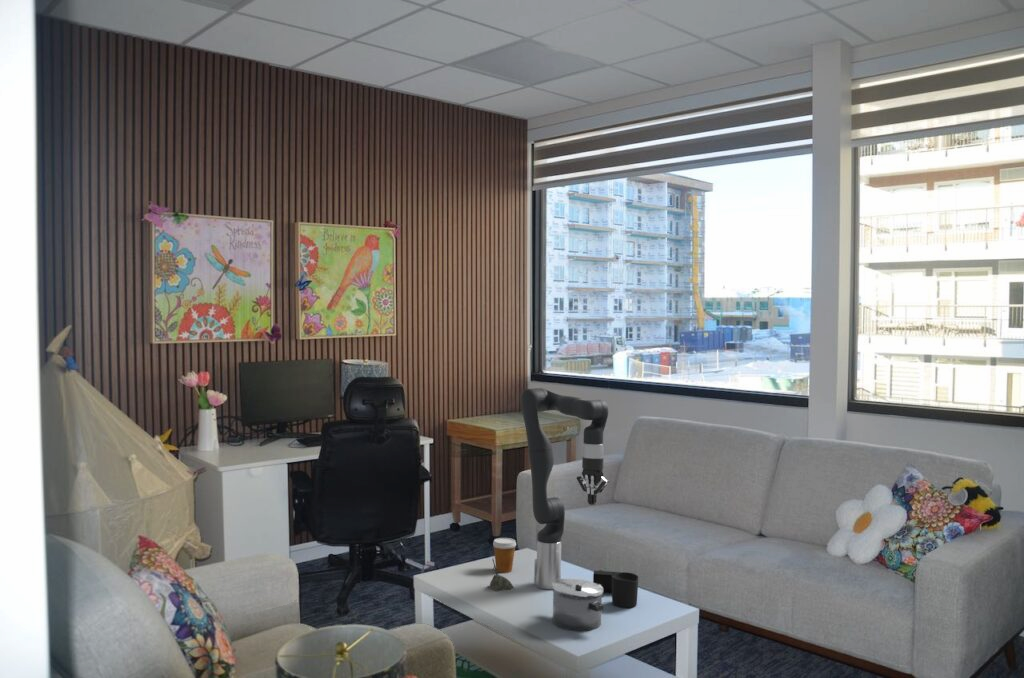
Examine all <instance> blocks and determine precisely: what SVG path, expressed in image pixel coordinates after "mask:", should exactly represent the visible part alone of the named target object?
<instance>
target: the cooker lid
mask: <svg viewBox="0 0 1024 678" xmlns="http://www.w3.org/2000/svg"><path fill="white" fill-rule="evenodd" d="M552 588H553V589H554V590H556V591H558V592H560V593H563V594H567V595H571V596H578V597H596V596H600V595H602V594H603V586H602V585H600V584H597V583H595V582H593V581H589V580H586V579H585V580H584V579H578V578H561V579H558V580H555V581H553V582H552ZM553 589H552V590H553Z"/></svg>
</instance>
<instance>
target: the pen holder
mask: <svg viewBox="0 0 1024 678" xmlns="http://www.w3.org/2000/svg"><path fill="white" fill-rule="evenodd" d="M620 572H621V571H620ZM638 591H639V576H638V574H635V573H633V572H629V571H625V572H624V571H622V572H621V573H618V574H617V575H615V576H613V575H612V593H611V599H612V600H611V603H612V604H613V605H614V606H615V607H618V608H621V609H622V608H623V609H631V608H634V607H636V606H637V605H638V594H639V593H638Z"/></svg>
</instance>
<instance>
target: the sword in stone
mask: <svg viewBox="0 0 1024 678" xmlns="http://www.w3.org/2000/svg"><path fill="white" fill-rule="evenodd" d="M492 563H493V567H492V568H493V569H492V570H493V572H494V573H495V574H494V575H493V577H492V579H491V581H490V584H489V585H487V586H486V588H487V589H488V590H490V591H492V592H499V591H509V590H510V591H511V590H513V589H515V587H514V585H513V584H512V582H511V581H510V580H509V579H507V578H506V577H505V576H503V575H500V574H498V569H497V570H496V567H497V566H496V563H495V559H494V558H492Z"/></svg>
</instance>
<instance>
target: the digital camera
mask: <svg viewBox="0 0 1024 678" xmlns="http://www.w3.org/2000/svg"><path fill="white" fill-rule="evenodd" d="M618 573H621V571H606V570H601V569H600V570H593V574H592V575H593V576H592V577H593V578H592V579H593V581H592V582H595V583H597V584H600V585H602V586H603V590H604V594H612V575H613V576H615V575H617V574H618Z"/></svg>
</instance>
